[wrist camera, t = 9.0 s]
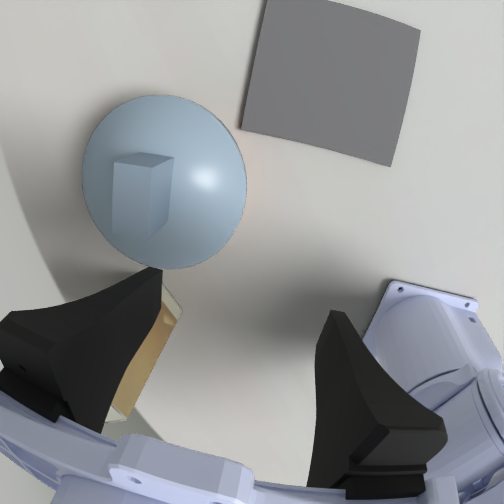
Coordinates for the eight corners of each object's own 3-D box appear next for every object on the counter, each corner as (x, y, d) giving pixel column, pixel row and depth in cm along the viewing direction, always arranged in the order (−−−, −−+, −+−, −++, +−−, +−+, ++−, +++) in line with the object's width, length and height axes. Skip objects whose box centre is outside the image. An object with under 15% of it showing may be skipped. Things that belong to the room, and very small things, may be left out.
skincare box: (139, 331, 29) (79, 428, 18) (110, 297, 28) (37, 388, 17) (187, 310, 27) (129, 423, 16) (156, 270, 26) (78, 375, 15)
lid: (263, 108, 16) (254, 109, 13) (230, 281, 21) (218, 314, 18) (92, 91, 16) (56, 93, 13) (88, 244, 21) (60, 267, 18)
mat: (418, 31, 15) (420, 30, 14) (388, 166, 19) (390, 167, 19) (270, -9, 15) (269, -11, 15) (241, 129, 20) (240, 129, 19)
